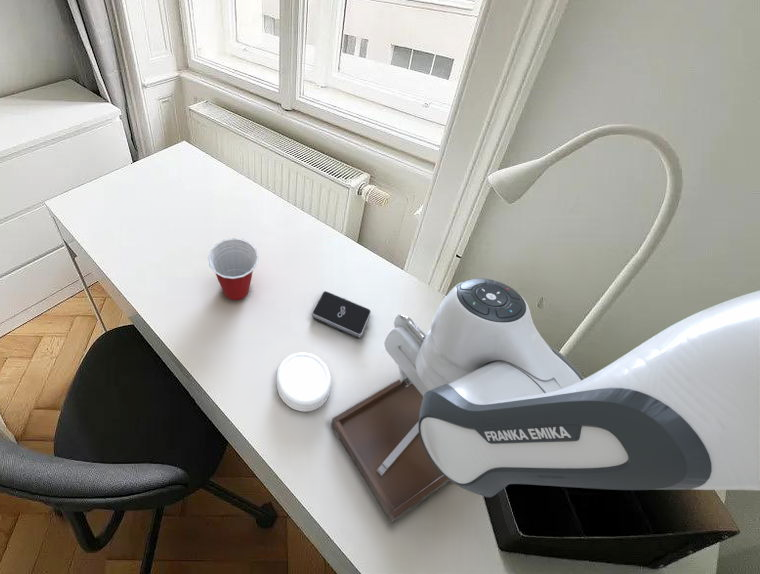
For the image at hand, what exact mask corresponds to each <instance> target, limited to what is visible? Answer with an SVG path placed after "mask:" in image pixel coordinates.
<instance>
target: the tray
mask: <svg viewBox="0 0 760 574" xmlns="http://www.w3.org/2000/svg"><path fill="white" fill-rule="evenodd" d="M422 400H423V396H422V394H421V393H420V392H419V391H418V390H417V388H416V387H415V386H414V385H413V384H412V385H411V386H408V388H405V387H404V385H403V384H402V383H401V382H400V378H399V379H397V380H396V381H394V382H392V383H390V384H389V385H387V386H385V387H383V388H382V389H380V390H379V391H377V392H375V393H374V394H372V395H369V397H366V398H365V399H363V400H361V401H360V402H358V403H356V404H355V405H353V406H351V407H350V408H348V409H346V410H344V411H343V412H341V413H339V414H338V415H336V416H334V417H332V419H331V423H330V424H331V427H332V428H333V430H334V432H335V433H336V434H337V436H338V438H339V440H340V442H341V443H342V444H343V446H344V449H346V451H347V454H348V455H349V456H350V458H351V460H352V461H353V463H354V464H355V466H356V468H357V470H358V471H359V473H360V474H361V476H362V477H363V479H364V481H365V482H366V484H367V486H368V488H369V489H370V491H371V492H372V494H373V496H374V497H375V499H376V501H377V502H378V504H379V506H380V507H381V509H382V510H383V512H384V514H385V515H386V518H387V519H388V520H389V522H390V523H391V524H392V523H394V522H395V521H397V520H398V519H399V518H400V517H402V516H403V515H404V514H406V513H407V512H408V511H410V510H411V509H412V508H414V507H415V506H416V505H418V504H420V503H421V502H422V501H424V500H425V499H427V498H428V497H429V496H430V495H432V494H434V493H435V492H436V491H437V490H438V489H440V488H441V487H443V486H444V485H445V484H447V483H448V482H449V481H450V480H448V479H447V478H446V477H445V476H444V475H443V474H442V473H441V472H440V471H439V470H438V469H437V467H436V466H435V465H434V463H433V462H432V461H431V459H430V458H429V456H428V454H427V452H426V450H425V448H424V446H423V444H422V441H421V438H420V434H419V433H418V434H417V436H416V437H415V438H414V439H413V440H412V441H411V443H410V444H409V445H408V446H407V447H406V448H405V450H404V451H403V452H402V453H401V454H400V456H399V457H398V458H397V459H396V460H395V461H394V463H393V464H392V465H391V466H390V467H389V468H388V470H386V472H385V473H384V474H383V475H382V476H381V475H380V474H379V473H378V472H377V469H378V468H379V467H380V466H381V465H382V463H383V462H384V461H385V460H386V458H387V457H388V456H389V455H390V454H391V453H392V451H393V450H394V449H395V448H396V447H397V446H398V444H399V443H400V442H401V441H402V440H403V439H404V437H405V436H406V435H407V434H408V433H409V432H410V431H411V429H412V428H413V427H414V426H415V425H416V424H417V422H418V421H419V413H420V408H421V403H422Z"/></svg>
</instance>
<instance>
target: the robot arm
mask: <svg viewBox="0 0 760 574" xmlns="http://www.w3.org/2000/svg"><path fill="white" fill-rule="evenodd" d="M393 325H394V328H392V329H391V330H390V331H389V333H388V334H387V336H386V338H385V340H384V343H383V344H384V348H385V351H386V352H387V354H388V356H390V357H391V359H392V360H393V361H394V363H395V364H396V365H397V367H398V370H399V376H400V378H399V379H400V382H401V383H402V384H403V385H404V387H405V388H408V386H411V385H412V384H413V385H414V386H415V387H416V388H417V390H418V391H419V392H420V393H421V394H422V396H423V400H422V403H421V408H420V413H419V434H420V438H421V441H422V444H423V446H424V448H425V450H426V452H427V454H428V456H429V458H430V459H431V461H432V462H433V463H434V465H435V466H436V467H437V469H438V470H439V471H440V472H441V473H442V474H443V475H444V476H445V477H446V478H447V479H448V480H449V481H450V482H451V483H452V484H454V485H456V486H458V487H460V488H462V489H464V490H465V491H468V492H470V493H473V494H474V495H478V496H482V497H485V498H493V497H494V496H496V495H497V494H499V493H500V492H502V491H503V490H504V489H506V488H507V487H508V486H509V485H530V486H531V485H532V486H545V487H546V486H548V487H561V488H577V489H578V488H580V489H594V490H615V491H650V490H651V491H652V490H653V491H654V490H656V491H657V490H660V491H661V490H663V491H665V490H670V491H671V490H673V491H674V490H677V491H680V490H681V491H685V490H694V491H760V289H759V290H756V291H752V292H749V293H746V294H743V295H740V296H737V297H734V298H731V299H728V300H725V301H723V302H720V303H718V304H716V305H712V306H710V307H708V308H705V309H703V310H700V311H698V312H696V313H694V314H692V315H689V316H687V317H686V318H683V319H681V320H679V321H678V322H675V323H674V324H671V325H670V326H668V327H666V328H665V329H663V330H662V331H660V332H658V333H657V334H655V335H654V336H652V337H650V338H649V339H647V340H646V341H644V342H642V343H641V344H639V345H638V346H636V347H634V348H633V349H631V350H630V351H629V352H627V353H626V354H624V355H622V356H621V357H619V358H617V359H616V360H614V361H613V362H611V363H609V364H608V365H607V366H605V367H603V368H601V369H600V370H598V371H596V372H595V373H592V374H591V375H589V376H587V377H584V375H582V374H581V372H580V371H579V370H578V368H577V367H576V366H575V365H574V363H572V362H571V361H570V360H569V359H568V358H567V357H566V356H564V355H563V354H562V353H561V352H560V351H558V350H557V349H555V348H554V347H553V346H551V345H550V344H548V343H547V342H546V341H545V339H544V338H543V336H542V335H541V334H540V332H539V331H538V329H537V328H536V325H535V323H534V320H533V318H532V315H531V311H530V307H529V305H528V302H527V301H526V299H525V298H524V297H523V296H522V294H520V293H519V292H518V291H517V290H515V288H513V287H511V286H510V285H508V284H505V283H503V282H501V281H497V280H494V279H489V278H470V279H468V280H464V281H461V282H459V283H457V284H456V285H455V286H453V287H452V288H451V289H450V291H449V292H448V293H447V294H446V296H445V297H444V298H443V300H442V302H441V303H440V304H439V306H438V308H437V310H436V312H435V315H434V316H433V318H432V321H431V326H430V329H429V330H428V332H427V333H425V332H424V330H422V329H421V328H420V326H419V325H418V324H416V323H415V322H414V321H413V320H412V319H411V317H409V316H405V315H403V314H397V315H396V316H395V319H394V322H393Z"/></svg>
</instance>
